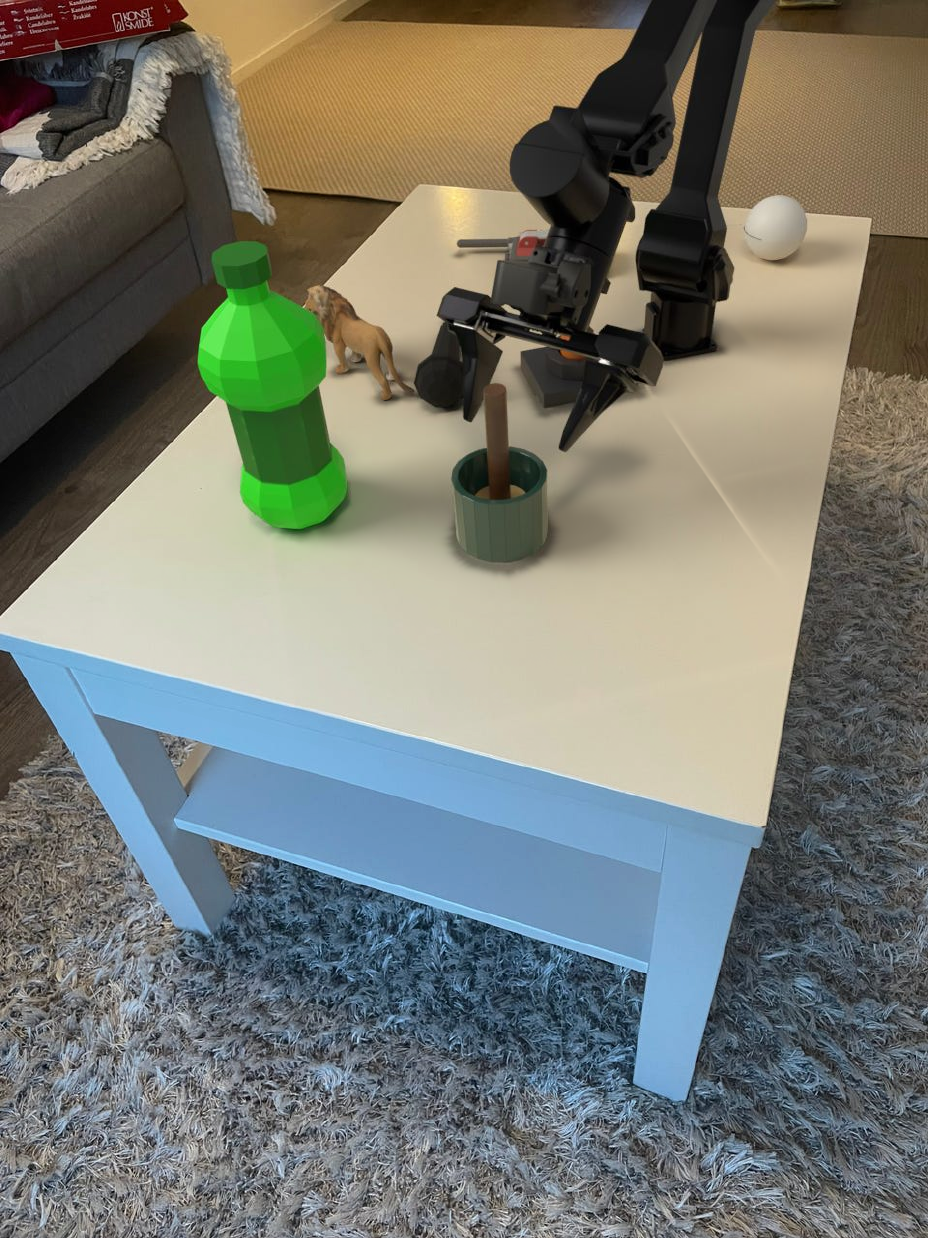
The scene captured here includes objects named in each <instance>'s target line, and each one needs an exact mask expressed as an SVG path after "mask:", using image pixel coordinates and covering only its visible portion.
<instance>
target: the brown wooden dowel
mask: <svg viewBox="0 0 928 1238" xmlns="http://www.w3.org/2000/svg"><path fill="white" fill-rule="evenodd" d="M483 394H484V399H483V407H484V409H483V410H484V424H485V441H486V448H487V460H488V477H489V486H487V487H485V488H483V489H481V490H480V491H478V492H477V493H476V495H475V496H476V497H478V498H483V499H488V500H505V499H510V498H515V497H518V496H520V495H522V494H525V492H524V491H523V490H522V489H521V488H519V487H517V486H514V485H510V465H509V446H510V444H509V442H510V441H509V419H508V417H509V415H508V393H507V387H506V386H505V385H504V384H502V383H498V382H497V383H496V382H495V383H494V382H492V383H490V384H489V385H487V386H485V387H484V389H483Z"/></svg>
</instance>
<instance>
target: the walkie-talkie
mask: <svg viewBox="0 0 928 1238" xmlns="http://www.w3.org/2000/svg"><path fill="white" fill-rule="evenodd" d="M549 230H550V229H539V230H538V229H526V230H524V231H518V233H517V236H514V237H508V238H465V239H463V238H461V239H458V240H457V241H456V246H457V247H458V248H460V249H466V248H467V249H471V248H472V249H474V248H478V249H479V248H480V249H481V248H508V251H506V252H505V253H504V260H506V261H522V262H528V260H529V258H530V255H531V252H532V251H533V250H534V249H535V246H536V245H538V246H544V243H545V240H546V238H547V235H548V232H549Z"/></svg>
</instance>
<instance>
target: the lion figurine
mask: <svg viewBox="0 0 928 1238" xmlns="http://www.w3.org/2000/svg"><path fill="white" fill-rule="evenodd" d="M307 292H308V297H307V299H306V300H305V305H304V306H303V308H304V309H306V310H308V311H310V312H311V313H313V314H315V316H316V317H317V319H318V320H319V322H320V323H321V325H322V327H323V330H324V335H325V339H326V340H327V341H328V342H330V343H332V346H333V350H334V353H335V356H336V357H337V359H338V362H339V365H337V366H336V367H335V373H336V374H339V375H340V374H345V373H346V372H348V371H349V362H348V359H347V357H346V350H347V348H348V349H350V350H351V356H350V361H351V362H352V363H359V362H361V361H362V359H363V358H362V356H364V359H365V362H366V364H367V367H368V369H369V371H370V373H371V374H372V376H373V377H374V378H375V380H376V381H377V382H378V383H379V385H380V386H381V388H382V390H381V391H380V395H379V396H380V399H381V400H382V401H387V400H390V399H391V398H392V397H393V392H392V389H391V386H390V383H389V381H394V382H395V383H396V384H397V385H398V387H400V389H402V390H403V391H404V392H405V393H406V394H409V395H413V394H415V392H416V391H415V389H414V388H412V387H411V386H409V385H407V384H406V383H404V382H402V380H401V379H400V377H399V375H398V373H397V369H396V368H395V365H394V358H393V357H394V355H393V351H394V346H393V343H392V341H391V338H390V336H389V335H388V333H387V332H386V331H385V329H384V328H382V327H381V326H379V325H374V324H371V323H370V322H367V321H366V320H364V319H363V318H361V317H360V316H359V315H358V314H357V313H356V310H355V308H354V306H353V304H351V302H350V301H349V300H348V299H347V298H346V297H344V296H343V295H342V294H341V293H340V292H338V291H337V290H335V289H333V288H331V287H329V286H325V285H324V284H323V285H320V284H318V285H314V286H312V287H311V286H310V287H309V288H307ZM381 357H382V358H383V360H384V362H385V364H386V365H387V370H388V372H387V373H386V374H385V375H384V373H383V371H382V367H381Z"/></svg>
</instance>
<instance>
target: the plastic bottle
mask: <svg viewBox="0 0 928 1238" xmlns="http://www.w3.org/2000/svg"><path fill="white" fill-rule="evenodd" d="M211 264H212V268H213V272H214V276H215V280H216V284H218V285H219V286H221V287H223V288H224V289H226V293H227V298H226V299H225V300H224V301H223V302H222V303H221V304H220V305H219V306H218V307H217V308H216V310H214V312H213V313H212V315H210V317H209V318H208V320H207V321H206V322H205V323H204V325H203V326H202V327H201V332H200V339H199V345H198V353H197V366H198V370H199V373H200V376H201V378H202V380H203V383H204V384H205V386H206V387H207V389H208V392H211V393H212V394H213V395H215V396H216V397H218V398H219V399H221V400H222V401H224V403H225V405H226V408H227V411H228V416H229V418H230V422H231V426H232V429H233V433H234V436H235V440H236V444H237V447H238V450H239V455H240V457H241V462H242V465H241V472H240V485H239V486H240V487H239V494H240V497H241V500H242V501H241V502H242V503H243V504H244V505H245V506H246V507H247V509H248V510H249V511H250V512H251V513H252V514H254V515H255V516H257V518H259V519H260V520H262V521H263V522H264V523H266V525H269V526H271V527H272V528H279V529H288V530H289V529H290V530H303V529H306V528H310V527H312V526H315V525H318V524H321V523H322V522H324V521H326V520H327V518H329V516H331V514H332V513H334V512H335V510H336V509H337V508H338V507H339V506H340V505H341V504H342V503H343V501H344V500H345V498H346V494H347V491H348V485H347V484H348V483H347V481H348V480H347V468H346V464H345V459H344V457H343V455H342V453H340V451H339V450H338V448H336V447H335V445H333V443H331V439H330V434H329V430H328V425H327V420H326V415H325V409H324V405H323V400H322V396H321V389H320V385H321V383H322V382H324V380H325V379H326V377H327V341H326V336H325V334H324V330H323V327H322V325H321V323H320V322H319V320H318V319H317V317H316V316H315V314H313V313H311V312H310V311H308V310H306V309H304V306H301V305H299V304H298V303H296V302H294V301H292V300H290V299H288V298H286V297H285V296H283V295H281V294H280V293H277V292H275V291H273V290H270V287H269V283H268V280H269V279H271V278H272V273H273V270H272V263H271V258H270V254H269V249H268V246H267V245H265V244H263V243H262V242H261V243H260V242H259V241H258V240H257V241H256V240H251V241H250V240H249V241H248V240H239V241H235V242H232V243H228V244H224V245H222V246H220V247H219V248H218V249H216V250H214V251H213V252H212V253H211Z"/></svg>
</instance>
